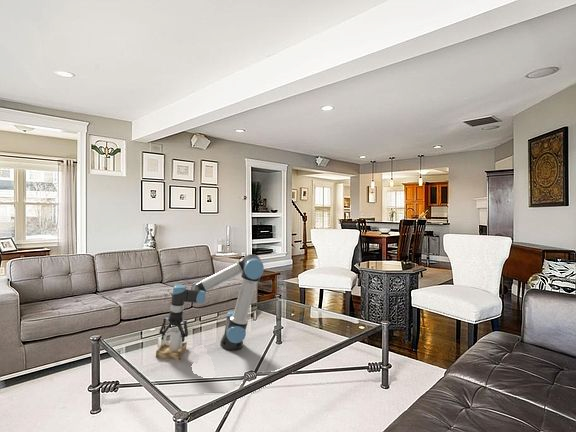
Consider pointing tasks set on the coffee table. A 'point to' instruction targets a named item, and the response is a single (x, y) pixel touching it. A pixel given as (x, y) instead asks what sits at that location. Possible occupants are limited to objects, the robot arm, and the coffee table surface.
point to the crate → (170, 352)
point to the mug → (173, 339)
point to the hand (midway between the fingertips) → (172, 345)
